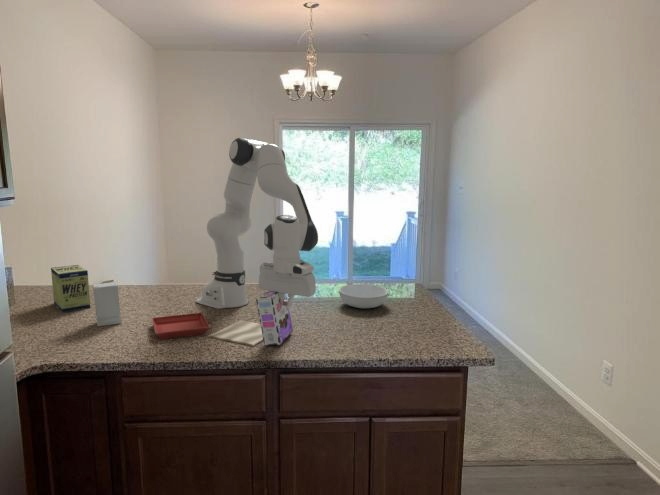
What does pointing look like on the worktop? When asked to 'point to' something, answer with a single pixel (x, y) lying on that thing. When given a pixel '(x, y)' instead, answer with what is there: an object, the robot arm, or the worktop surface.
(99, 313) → the skincare box
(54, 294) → the protein box
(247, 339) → the birch board
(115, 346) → the worktop surface
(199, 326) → the plant saucer
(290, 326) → the candy box
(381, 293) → the serving bowl
